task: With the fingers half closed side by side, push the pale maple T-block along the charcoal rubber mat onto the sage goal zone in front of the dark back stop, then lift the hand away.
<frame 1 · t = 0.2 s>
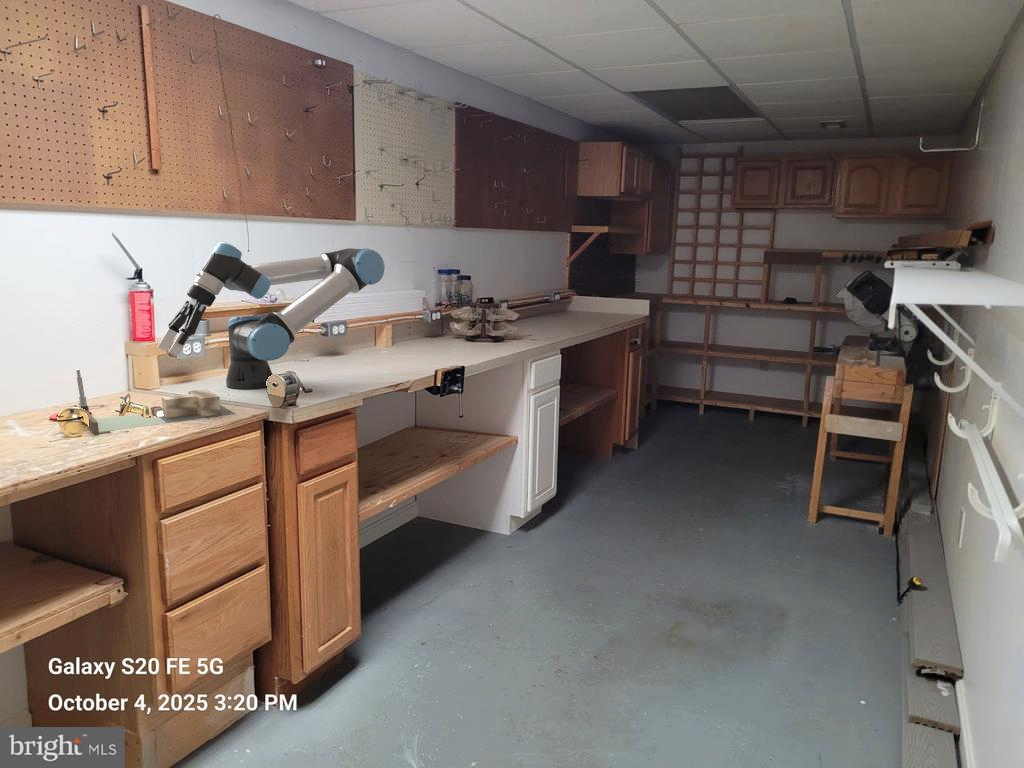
hand: (167, 351, 218), 15 cm above the table, tool tilted 35°, fingers open, 13 cm apart
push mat: (167, 417, 204), on the table
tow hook: (69, 418, 203), on the table
t block: (204, 411, 210), resting on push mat
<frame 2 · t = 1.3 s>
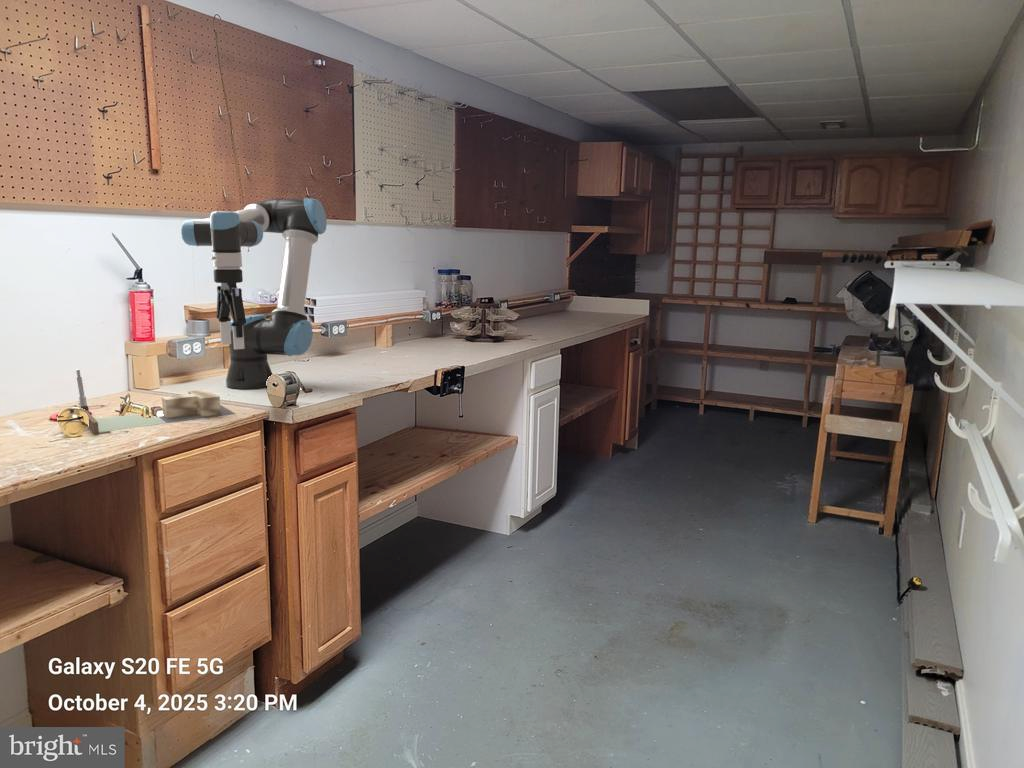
hand: (232, 346, 212), 18 cm above the table, tool pointing down, fingers open, 11 cm apart
nothing on the table moved.
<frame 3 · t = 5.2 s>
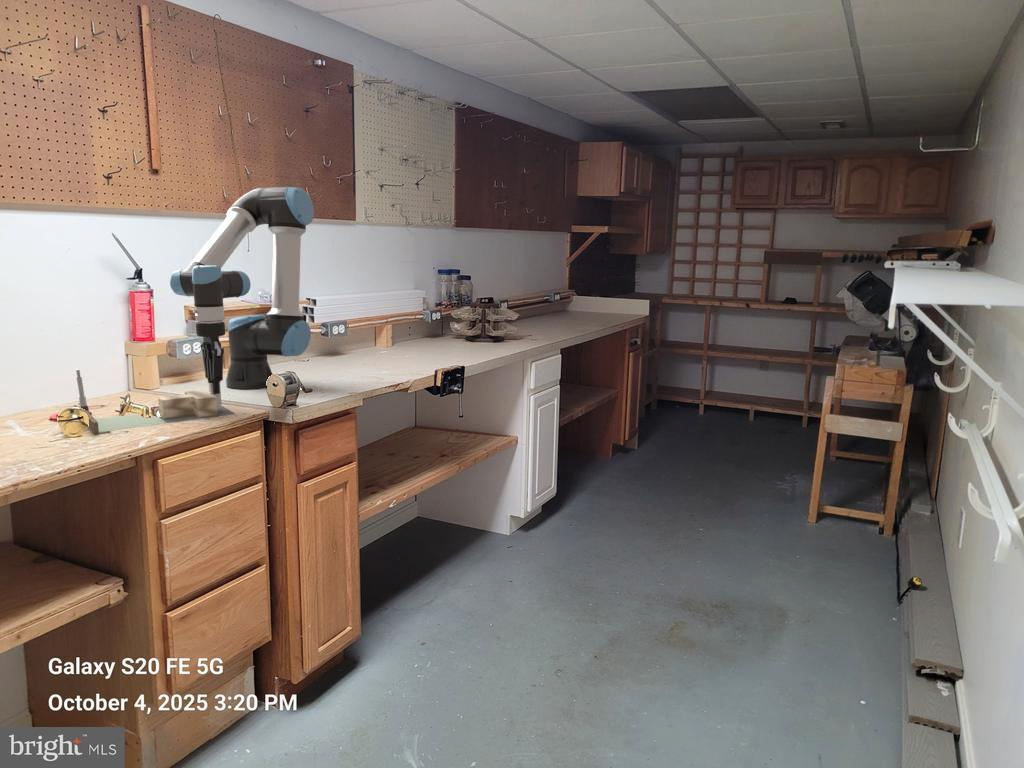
hand: (215, 404, 211), 2 cm above the table, tool pointing down, fingers closed
nothing on the table moved.
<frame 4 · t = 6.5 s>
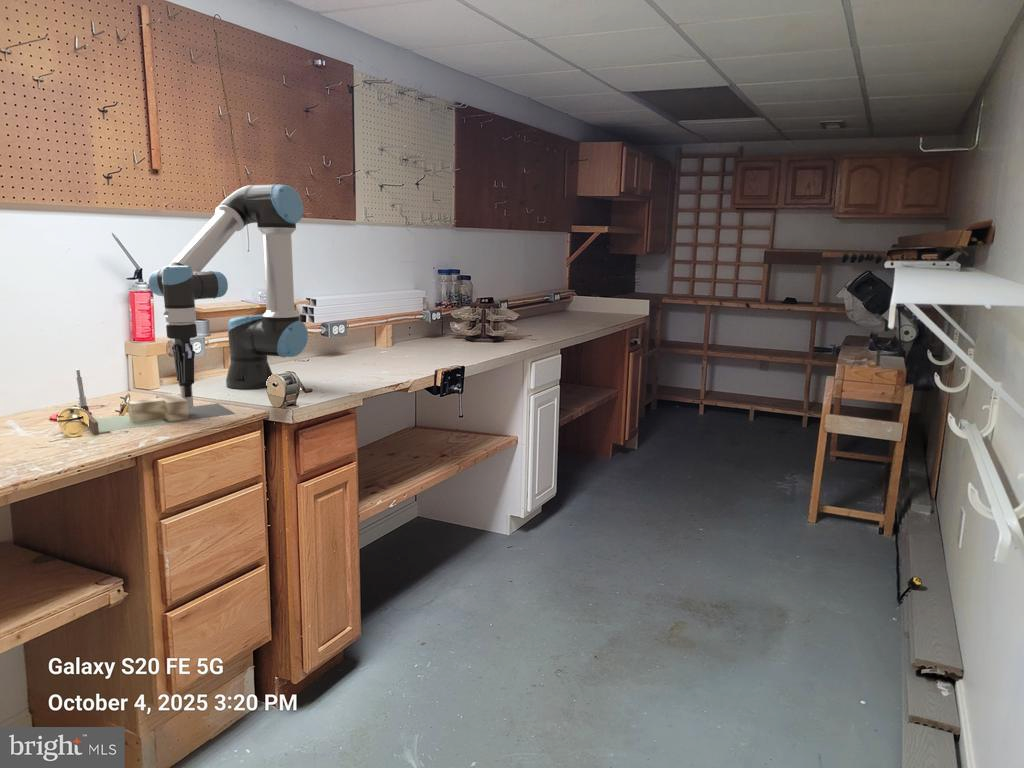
hand: (187, 407, 206), 2 cm above the table, tool pointing down, fingers closed
t block: (173, 415, 204), resting on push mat, touching gripper
everything else where it was.
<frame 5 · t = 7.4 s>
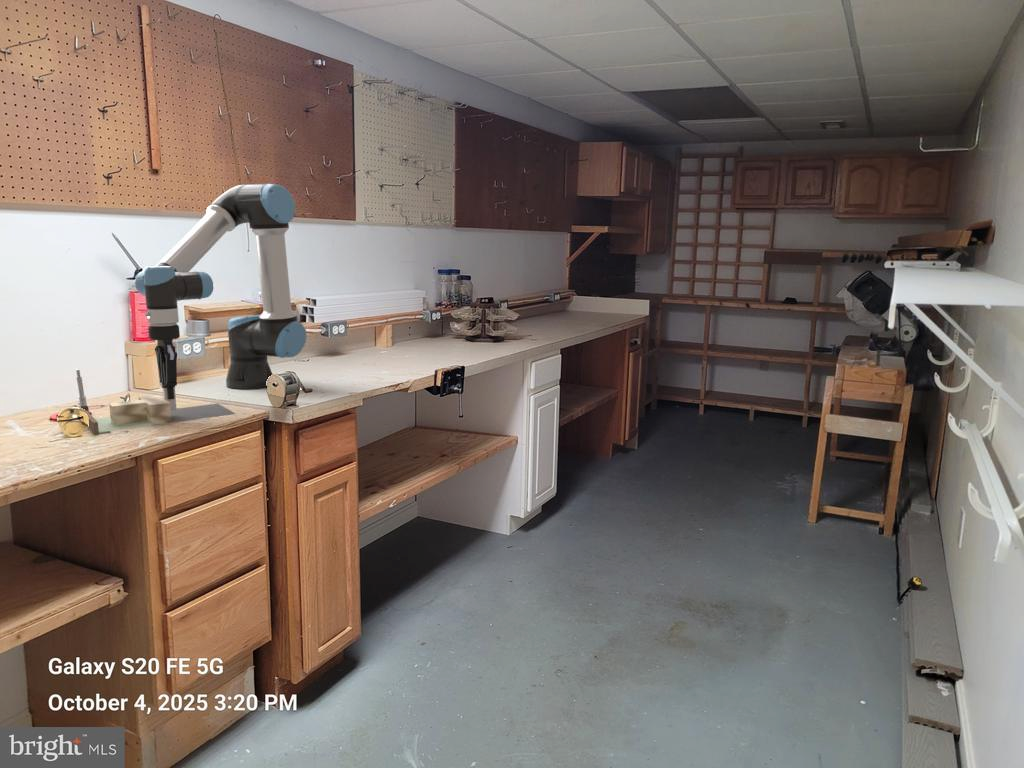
hand: (170, 410, 204), 2 cm above the table, tool pointing down, fingers closed
t block: (155, 417, 201), resting on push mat, touching gripper
everything else where it was.
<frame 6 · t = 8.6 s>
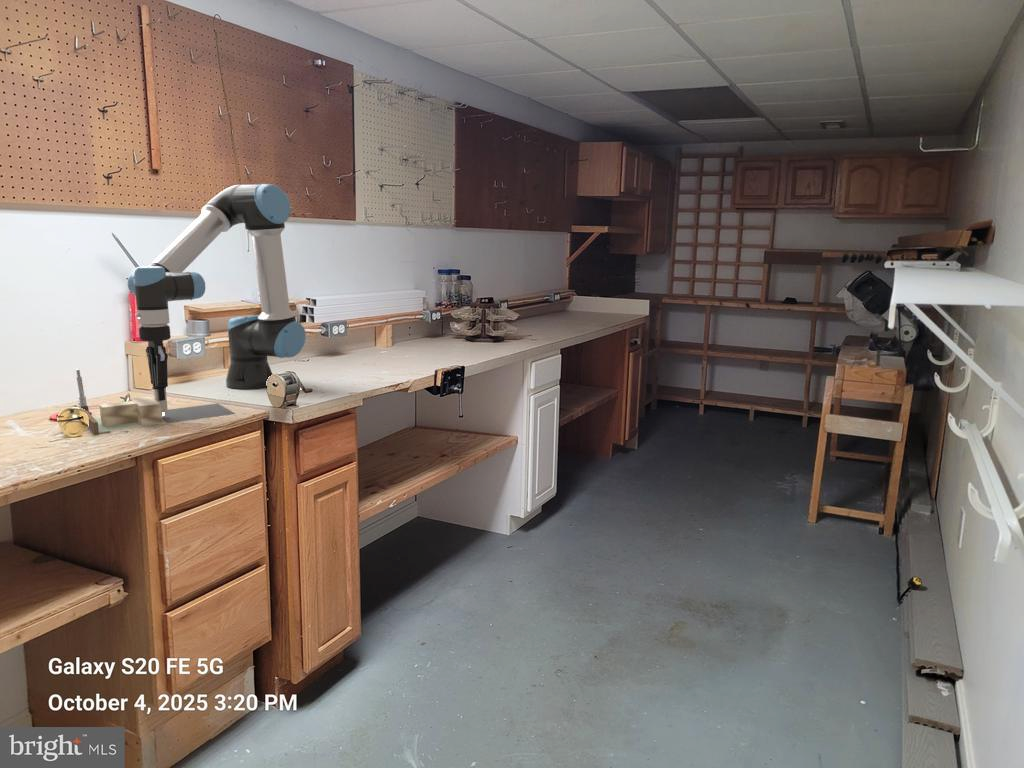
hand: (161, 411, 202), 2 cm above the table, tool pointing down, fingers closed
t block: (146, 419, 200), resting on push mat, touching gripper
everything else where it was.
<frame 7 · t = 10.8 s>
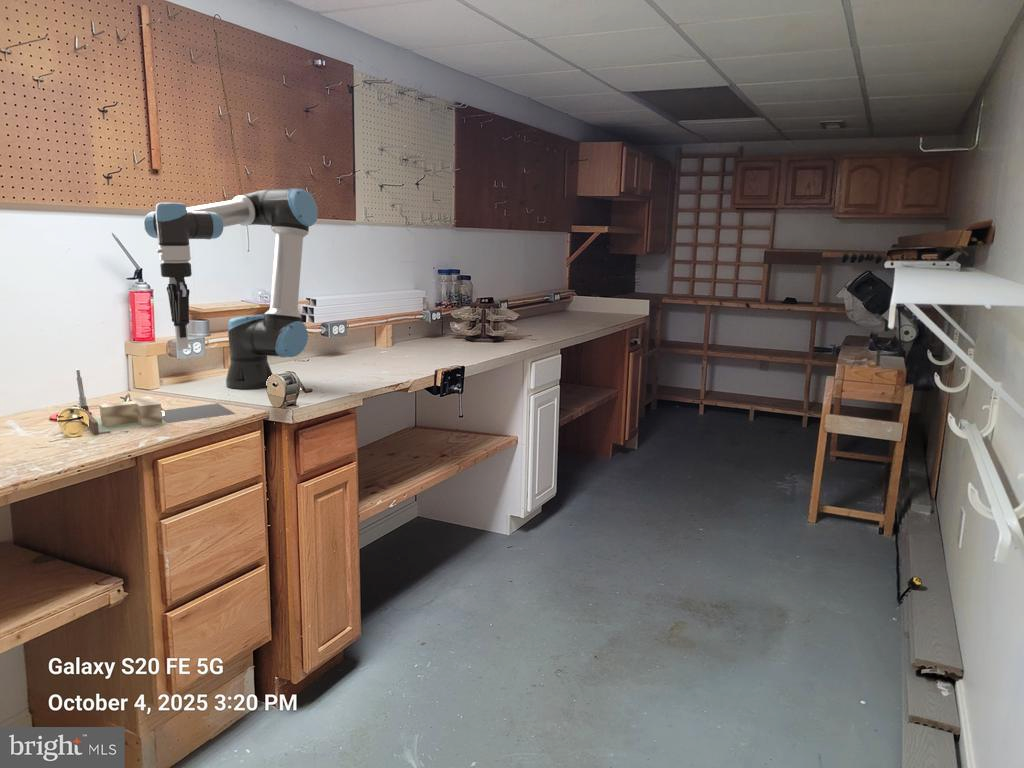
hand: (182, 348, 204), 18 cm above the table, tool pointing down, fingers closed
t block: (146, 419, 200), resting on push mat
everything else where it was.
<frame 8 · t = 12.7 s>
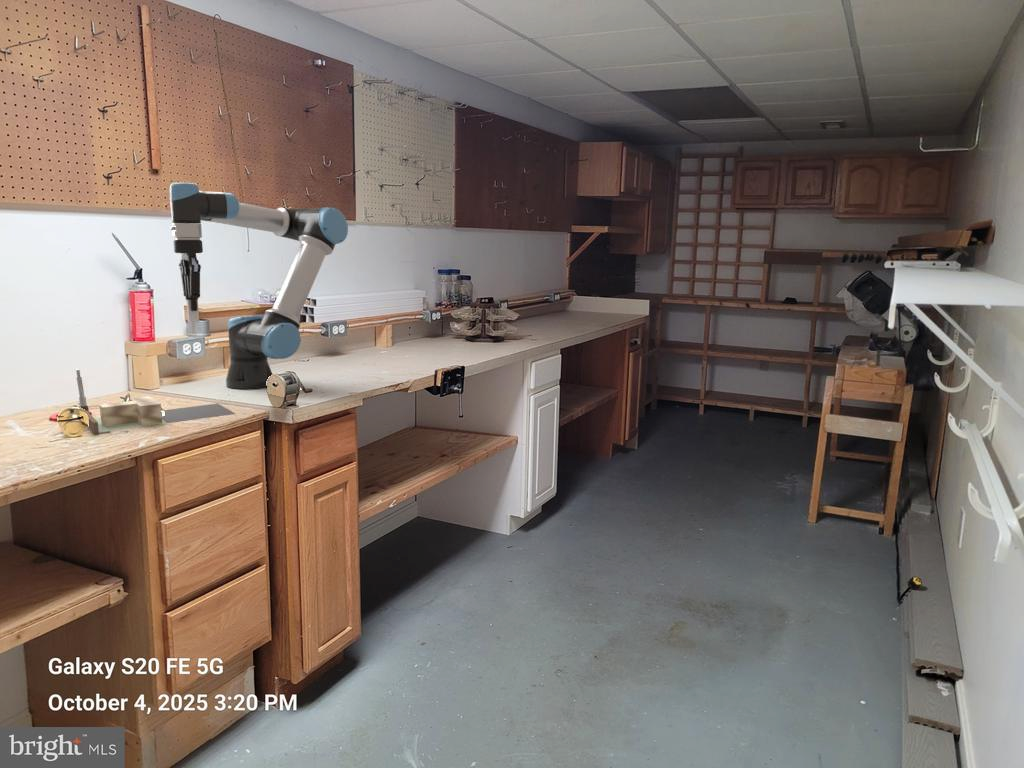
hand: (193, 321, 215), 24 cm above the table, tool pointing down, fingers closed
nothing on the table moved.
at the end: t block inside the target area (1.3 cm from its centre), resting on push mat; t block tilted 0°; t block moved 15.3 cm from its start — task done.
